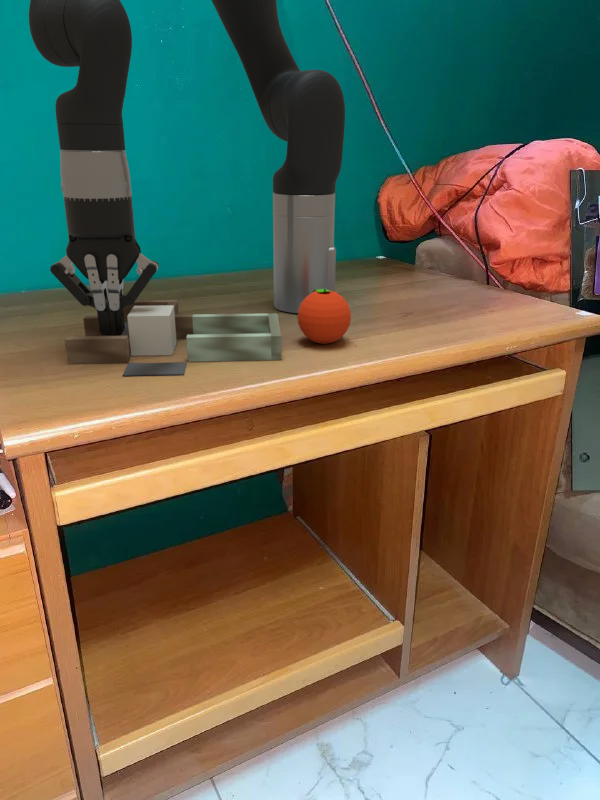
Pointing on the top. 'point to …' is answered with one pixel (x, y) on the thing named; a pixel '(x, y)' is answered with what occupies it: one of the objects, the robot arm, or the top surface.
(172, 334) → the cream block
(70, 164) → the robot arm
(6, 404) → the top surface
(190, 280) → the top surface
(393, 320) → the top surface
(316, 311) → the clementine
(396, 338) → the top surface
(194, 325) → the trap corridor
